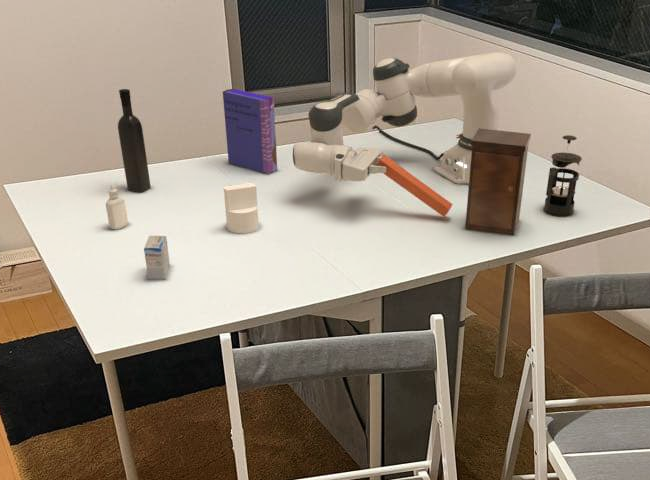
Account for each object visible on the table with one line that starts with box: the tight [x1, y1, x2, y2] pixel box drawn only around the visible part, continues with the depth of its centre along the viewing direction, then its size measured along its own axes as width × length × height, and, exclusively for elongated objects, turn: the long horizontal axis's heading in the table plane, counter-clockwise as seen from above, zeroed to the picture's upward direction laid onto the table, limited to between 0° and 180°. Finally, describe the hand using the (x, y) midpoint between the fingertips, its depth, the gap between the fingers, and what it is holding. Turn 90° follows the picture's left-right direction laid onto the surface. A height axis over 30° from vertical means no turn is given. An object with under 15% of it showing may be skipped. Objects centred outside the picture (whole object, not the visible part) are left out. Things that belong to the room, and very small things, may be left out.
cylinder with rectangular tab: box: [223, 182, 260, 234], centre depth 233 cm, size 9×9×12 cm
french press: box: [542, 134, 583, 218], centre depth 248 cm, size 12×9×23 cm
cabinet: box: [464, 128, 532, 236], centre depth 236 cm, size 15×13×26 cm
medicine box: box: [143, 235, 171, 281], centre depth 208 cm, size 8×4×9 cm, turn 5°
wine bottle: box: [117, 88, 152, 193], centre depth 250 cm, size 6×6×30 cm
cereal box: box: [222, 88, 278, 175], centre depth 272 cm, size 17×5×24 cm, turn 58°
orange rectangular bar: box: [376, 154, 454, 218], centre depth 243 cm, size 25×4×3 cm
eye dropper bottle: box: [105, 184, 129, 231], centre depth 231 cm, size 4×6×12 cm
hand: (389, 166), depth 242 cm, fingers closed on orange rectangular bar, 4 cm apart
